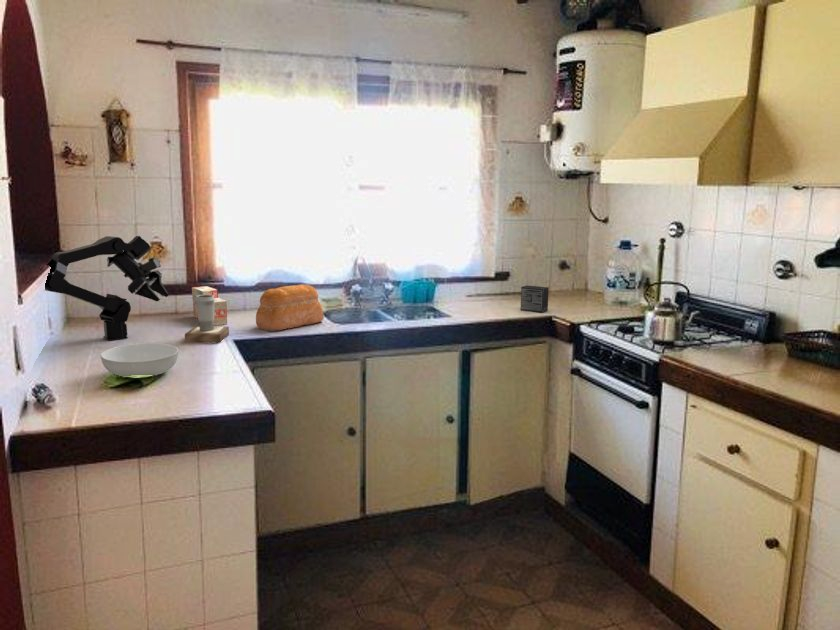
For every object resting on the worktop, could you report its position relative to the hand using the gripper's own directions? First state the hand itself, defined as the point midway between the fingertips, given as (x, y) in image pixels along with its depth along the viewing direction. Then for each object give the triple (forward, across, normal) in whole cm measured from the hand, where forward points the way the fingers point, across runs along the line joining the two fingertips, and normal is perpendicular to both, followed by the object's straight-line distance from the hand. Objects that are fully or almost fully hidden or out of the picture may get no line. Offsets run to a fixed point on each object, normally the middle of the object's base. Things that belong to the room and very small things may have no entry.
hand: (163, 298), depth 246 cm
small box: (+110, +51, -90) cm, 151 cm away
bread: (+39, +20, -19) cm, 48 cm away
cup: (+19, -4, -4) cm, 19 cm away
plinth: (+21, -4, -2) cm, 21 cm away
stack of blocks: (+16, +27, +4) cm, 31 cm away
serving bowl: (+16, -48, +3) cm, 51 cm away
